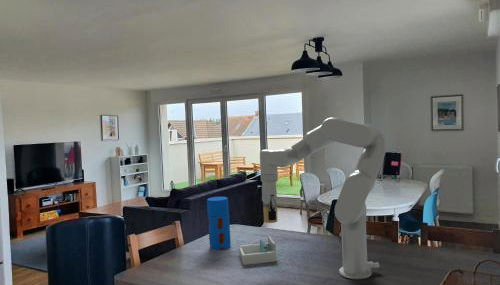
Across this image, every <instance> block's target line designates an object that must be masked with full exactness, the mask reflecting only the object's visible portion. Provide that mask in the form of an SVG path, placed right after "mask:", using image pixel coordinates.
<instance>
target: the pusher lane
mask: <svg viewBox="0 0 500 285" xmlns="http://www.w3.org/2000/svg"><path fill="white" fill-rule="evenodd" d="M264 243H265V244H266V246H267V252H263V253H261V250H260V243H256V244H255V243H253V244H244V245H238V248H239V249H238V250H239V253H238V255H239V257H240V260H241V262H242V265H243V266H247V265H255V264H256V265H257V264H263V263H272V262H277V250H276V249H277V248H276V242H275V241H274V240H273V238H272V237H271V236H270V235H268V236H267V242H264Z"/></svg>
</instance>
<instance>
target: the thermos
mask: <svg viewBox="0 0 500 285" xmlns="http://www.w3.org/2000/svg"><path fill="white" fill-rule="evenodd" d="M206 205H207V206H206V208H207V221H208V223H207V226H208V237H209V238H208V239H209V240H208V241H209V249H210V250H212V251H224V250H228V249H230V248H231V226H230V225H231V224H230V211H229V210H230V209H229V198H228V196H227V197H226V196H213V197H209V198H207V200H206Z"/></svg>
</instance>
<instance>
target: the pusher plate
mask: <svg viewBox="0 0 500 285" xmlns="http://www.w3.org/2000/svg"><path fill="white" fill-rule="evenodd" d="M265 243H266V242H265V241H264V239H259V244H260V250H261V253H263V252H267V246H266V244H265Z"/></svg>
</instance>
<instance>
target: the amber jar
mask: <svg viewBox="0 0 500 285" xmlns="http://www.w3.org/2000/svg"><path fill="white" fill-rule="evenodd" d="M270 204H272V203H270ZM262 206H263V208H262V209H263V222H264V223H266V224H268V223H269V224H274V223H277V222H278V202H277V203H276V204H275V208H276V220H269V218H268V211H269V206H268V204H267V205H266V204H265V203H264V202H263V203H262ZM271 206H272V205H270V207H271Z"/></svg>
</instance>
